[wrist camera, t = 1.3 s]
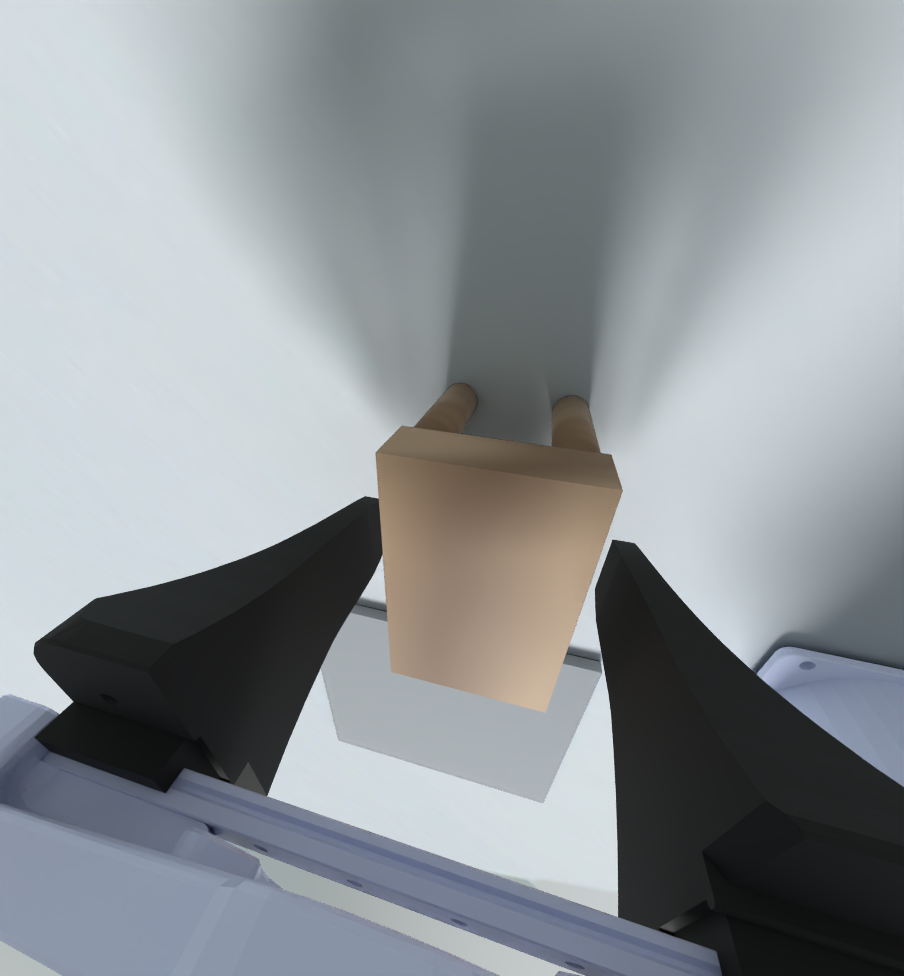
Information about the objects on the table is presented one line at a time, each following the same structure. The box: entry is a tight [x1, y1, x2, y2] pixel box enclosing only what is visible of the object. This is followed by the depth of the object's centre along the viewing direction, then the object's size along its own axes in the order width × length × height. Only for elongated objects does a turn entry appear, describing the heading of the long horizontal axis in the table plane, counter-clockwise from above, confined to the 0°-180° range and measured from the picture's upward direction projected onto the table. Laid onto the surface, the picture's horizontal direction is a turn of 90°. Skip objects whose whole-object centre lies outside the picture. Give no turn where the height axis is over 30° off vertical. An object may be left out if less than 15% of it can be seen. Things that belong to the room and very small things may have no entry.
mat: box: [321, 605, 602, 803], centre depth 23 cm, size 16×16×1 cm
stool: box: [376, 383, 623, 713], centre depth 12 cm, size 5×8×6 cm, turn 178°
